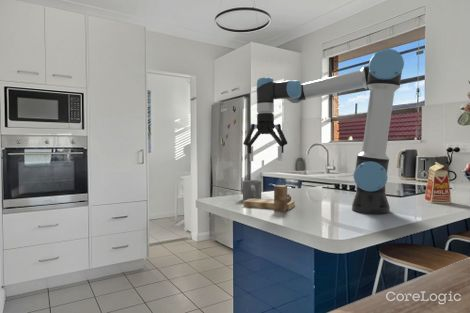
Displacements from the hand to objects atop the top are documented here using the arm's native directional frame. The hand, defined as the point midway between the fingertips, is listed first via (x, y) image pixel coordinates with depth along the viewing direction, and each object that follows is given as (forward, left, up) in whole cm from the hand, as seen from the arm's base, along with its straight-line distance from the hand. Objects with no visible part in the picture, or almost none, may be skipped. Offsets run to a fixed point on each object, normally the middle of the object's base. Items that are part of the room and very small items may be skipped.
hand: (265, 160), depth 145 cm
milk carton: (-73, -50, -22) cm, 91 cm away
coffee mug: (+15, -20, -22) cm, 33 cm away
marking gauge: (-7, -5, -22) cm, 23 cm away
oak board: (+1, -7, -22) cm, 23 cm away
